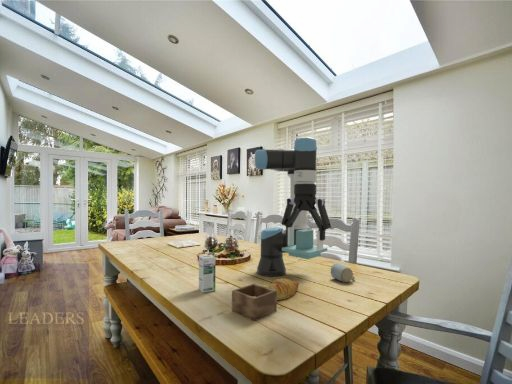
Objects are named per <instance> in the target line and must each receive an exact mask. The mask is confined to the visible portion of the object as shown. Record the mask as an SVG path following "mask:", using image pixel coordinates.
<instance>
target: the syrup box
mask: <svg viewBox="0 0 512 384" xmlns="http://www.w3.org/2000/svg"><path fill="white" fill-rule="evenodd" d="M198 289H199V290H200V292H201V293H202V294H205V293H209V292H216V256H215V255H214V254H205V255H199V256H198Z"/></svg>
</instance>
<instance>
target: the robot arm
mask: <svg viewBox="0 0 512 384" xmlns="http://www.w3.org/2000/svg"><path fill="white" fill-rule="evenodd" d="M317 150H318V147H317V140H316V138H314V137H299V138H296V139H295V140H294V146H293V148H286V149H284V148H279V149H256V150H255V152H254V167H255V169H257V170H263V171H264V170H271V171H275V172H287V177H289V178H290V179H289V180H290V183H289V184H290V186H289V187H290V190H289V191H290V193H289V194H290V195H289V198H288V197H287V199H286V207H285V210H284V213H283V216H282V220H281V225H283V226H285V228H286V230H284V228H283V227H281V226H280V227H269V228H265V229H263V230H261V232H260V238H259V239H260V259H259V261H258V265H257V269H256V272H257V274H259V275H260V276H264V277H281V276H285V275H286V274H287V267H286V264H285V261H284V258H283V257H284V254H289V252H286V251H282V248H284V247H289V246H293V245H296V231H298V230H304V229H308V230H311V228H310V226H309V225H308V223H307V220H308V217H307V214H308V213H309V214H310V215H311V217H312V220H313V221H314V223H315V225H316V227H317V228H318V229H317V230H316V246H317V251H320V250H323V248H324V241H325V240H326V231H327V230H329V229H331V228H332V225H331V222H330V218H329V215H328V212H327V209H326V206H325V205H326V204H325V203H326V202H325V201H326V200H325V198H318V199H317V185H316V183H317ZM316 206H317V208H316ZM318 211H319V213H318Z"/></svg>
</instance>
